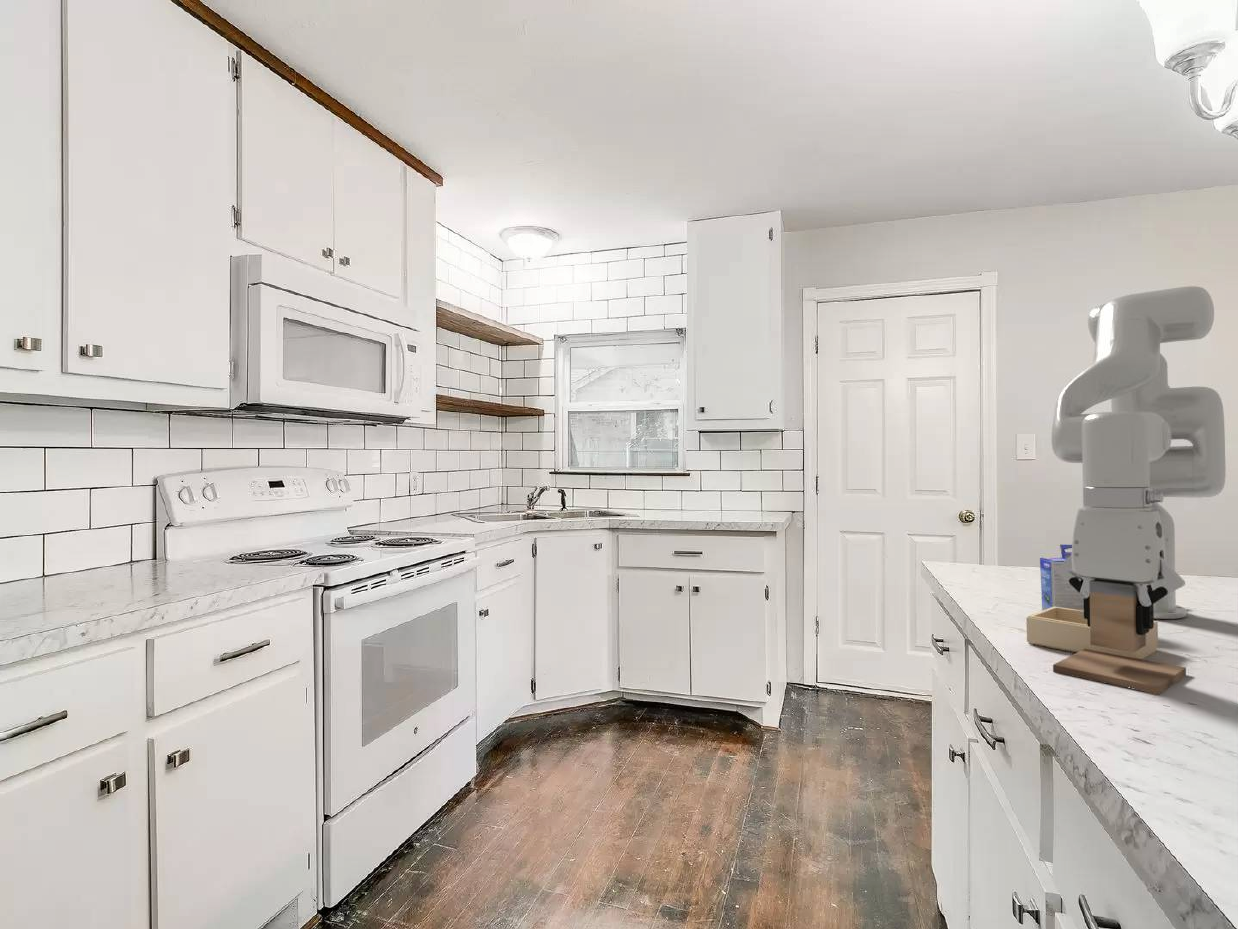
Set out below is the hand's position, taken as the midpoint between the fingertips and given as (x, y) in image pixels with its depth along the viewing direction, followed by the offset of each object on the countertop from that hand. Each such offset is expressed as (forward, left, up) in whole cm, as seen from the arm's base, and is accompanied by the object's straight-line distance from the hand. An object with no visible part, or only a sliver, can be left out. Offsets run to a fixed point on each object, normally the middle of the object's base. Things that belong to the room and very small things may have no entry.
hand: (1117, 627), depth 92 cm
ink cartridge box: (-24, -13, -7) cm, 28 cm away
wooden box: (-12, -7, -6) cm, 15 cm away
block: (0, 0, -2) cm, 2 cm away
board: (0, 0, -6) cm, 6 cm away
